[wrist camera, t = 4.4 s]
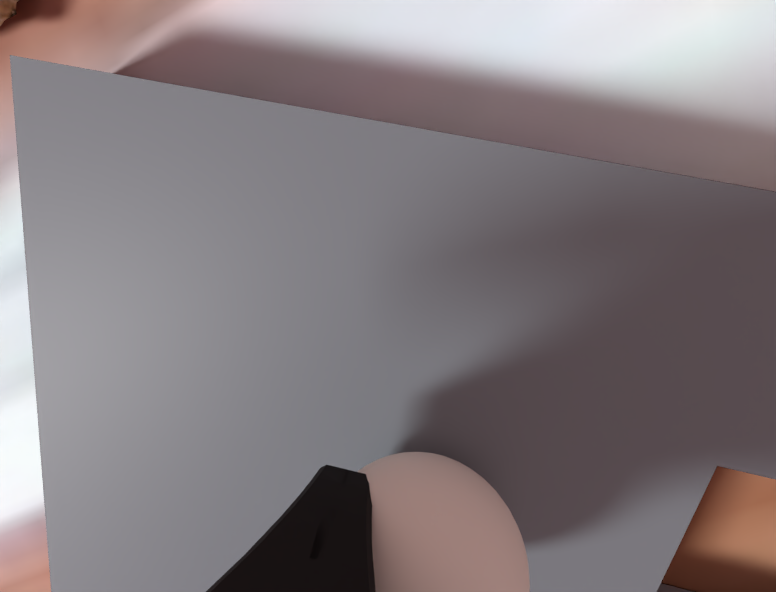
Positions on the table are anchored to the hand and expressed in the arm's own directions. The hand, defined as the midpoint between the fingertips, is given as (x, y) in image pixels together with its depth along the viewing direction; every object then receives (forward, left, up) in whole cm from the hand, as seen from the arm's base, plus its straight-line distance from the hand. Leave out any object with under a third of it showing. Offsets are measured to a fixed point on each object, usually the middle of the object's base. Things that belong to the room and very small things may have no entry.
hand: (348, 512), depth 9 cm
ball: (-1, -2, 0) cm, 2 cm away
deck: (-1, -4, -4) cm, 6 cm away
